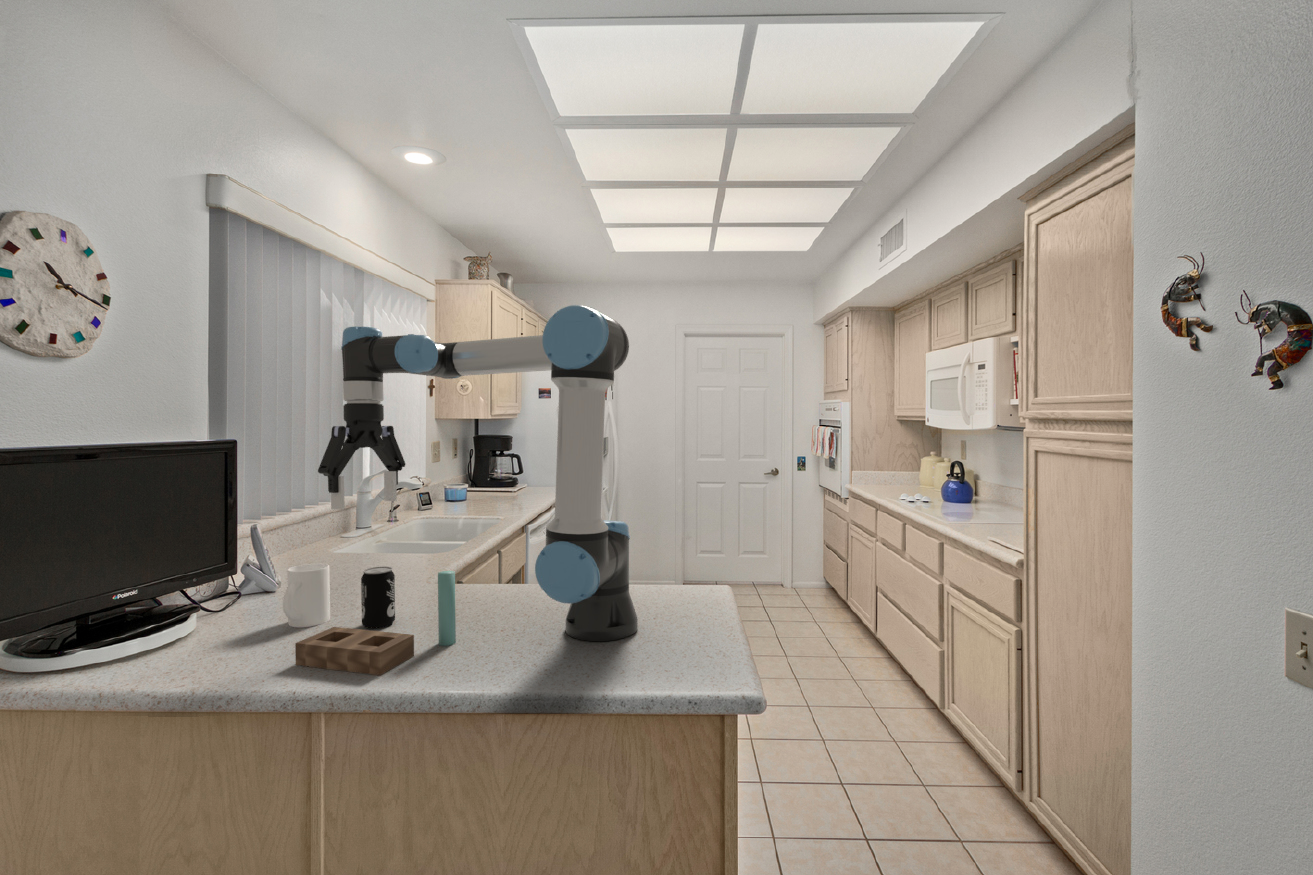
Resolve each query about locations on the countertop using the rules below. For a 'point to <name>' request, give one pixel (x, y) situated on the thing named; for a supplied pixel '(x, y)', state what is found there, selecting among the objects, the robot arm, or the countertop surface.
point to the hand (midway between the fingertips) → (365, 505)
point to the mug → (307, 595)
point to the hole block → (355, 650)
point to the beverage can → (378, 597)
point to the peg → (446, 608)
